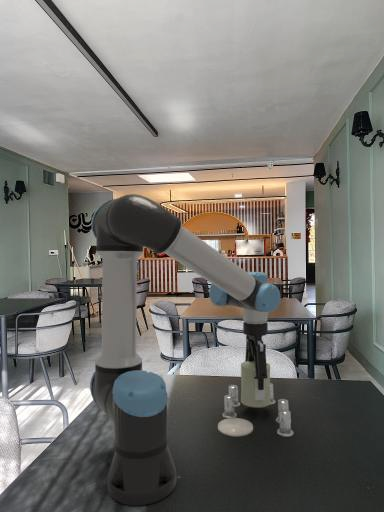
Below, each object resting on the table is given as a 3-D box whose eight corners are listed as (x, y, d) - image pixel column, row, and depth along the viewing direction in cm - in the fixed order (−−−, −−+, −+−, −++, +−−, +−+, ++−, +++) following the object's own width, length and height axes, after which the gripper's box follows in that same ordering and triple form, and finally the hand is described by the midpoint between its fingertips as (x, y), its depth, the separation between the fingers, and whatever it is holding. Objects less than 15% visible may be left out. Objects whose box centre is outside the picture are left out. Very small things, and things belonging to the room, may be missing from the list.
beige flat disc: (257, 435, 104) (257, 432, 104) (221, 437, 103) (221, 435, 103) (247, 418, 114) (247, 416, 114) (215, 421, 113) (215, 419, 113)
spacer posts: (302, 435, 103) (302, 413, 103) (233, 441, 101) (232, 418, 101) (273, 398, 128) (272, 381, 128) (216, 402, 126) (216, 384, 126)
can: (268, 396, 122) (268, 359, 122) (272, 408, 113) (272, 368, 113) (240, 395, 123) (240, 358, 123) (241, 407, 114) (241, 367, 114)
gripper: (278, 328, 107) (278, 407, 108) (257, 315, 129) (257, 381, 129) (252, 328, 107) (253, 408, 107) (235, 316, 128) (236, 382, 128)
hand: (255, 393), depth 118 cm, fingers closed on can, 9 cm apart
